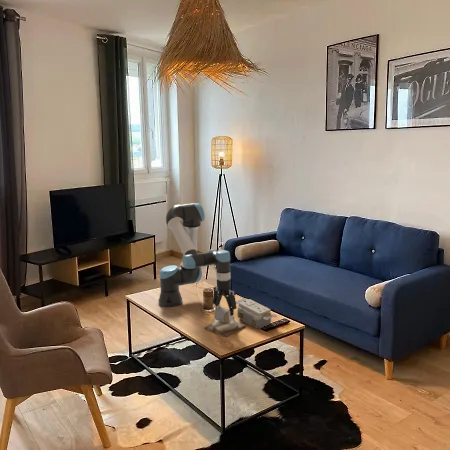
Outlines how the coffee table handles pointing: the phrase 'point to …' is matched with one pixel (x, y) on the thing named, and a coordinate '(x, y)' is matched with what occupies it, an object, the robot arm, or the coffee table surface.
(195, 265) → the robot arm
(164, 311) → the coffee table surface
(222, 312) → the ceramic mug
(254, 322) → the electrical outlet
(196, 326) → the coffee table surface
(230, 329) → the pedestal
